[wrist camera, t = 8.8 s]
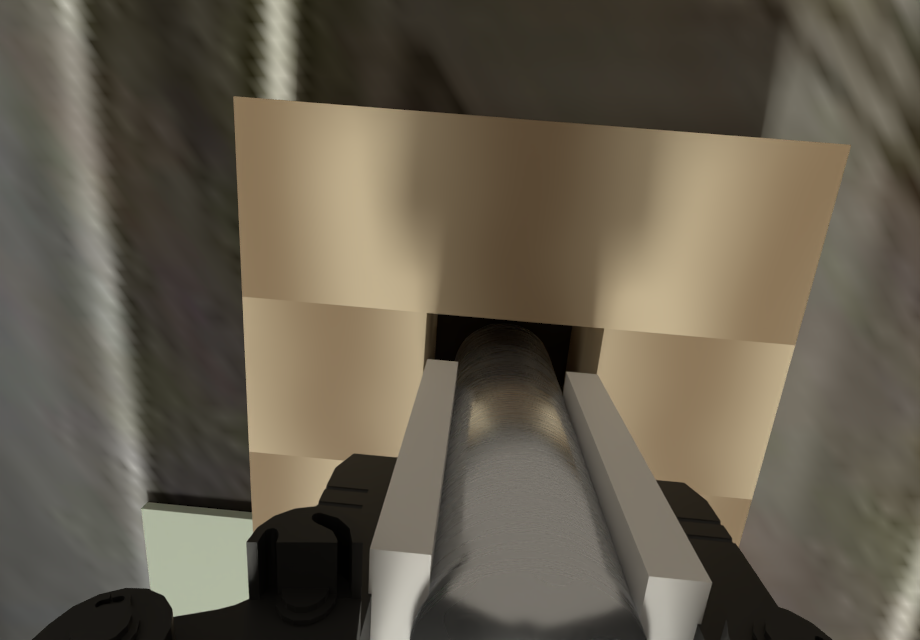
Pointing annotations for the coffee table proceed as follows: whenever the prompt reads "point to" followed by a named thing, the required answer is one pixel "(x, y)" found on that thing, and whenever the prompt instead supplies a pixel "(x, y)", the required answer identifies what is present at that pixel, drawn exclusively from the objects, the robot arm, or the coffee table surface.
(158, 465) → the coffee table surface
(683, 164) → the hole block
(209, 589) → the mat
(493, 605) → the pin
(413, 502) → the robot arm
